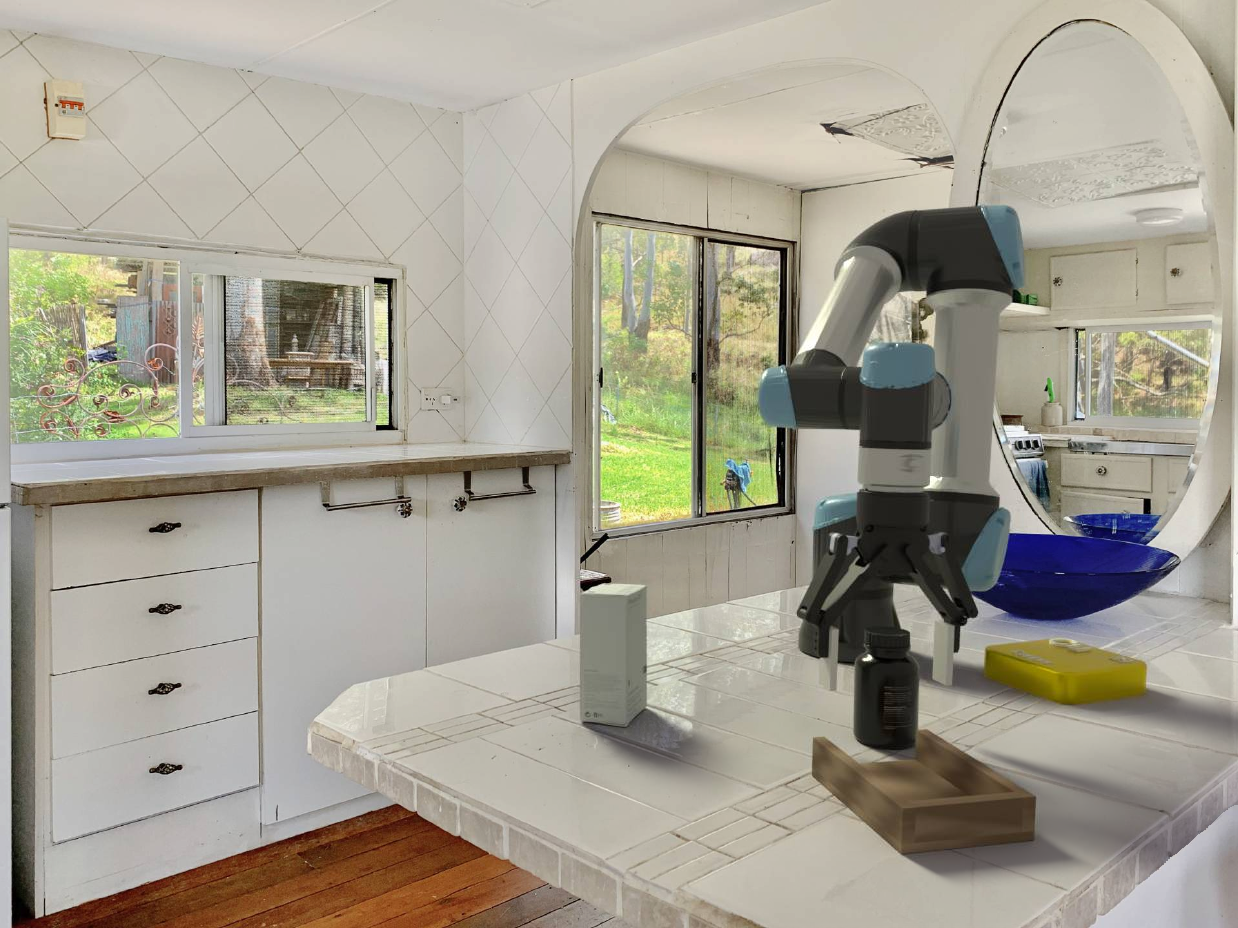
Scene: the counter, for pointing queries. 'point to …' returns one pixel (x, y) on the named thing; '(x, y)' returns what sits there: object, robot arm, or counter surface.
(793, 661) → the counter surface
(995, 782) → the u rest
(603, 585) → the skincare box
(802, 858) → the counter surface
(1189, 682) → the counter surface
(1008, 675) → the element tile
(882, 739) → the supplement bottle
